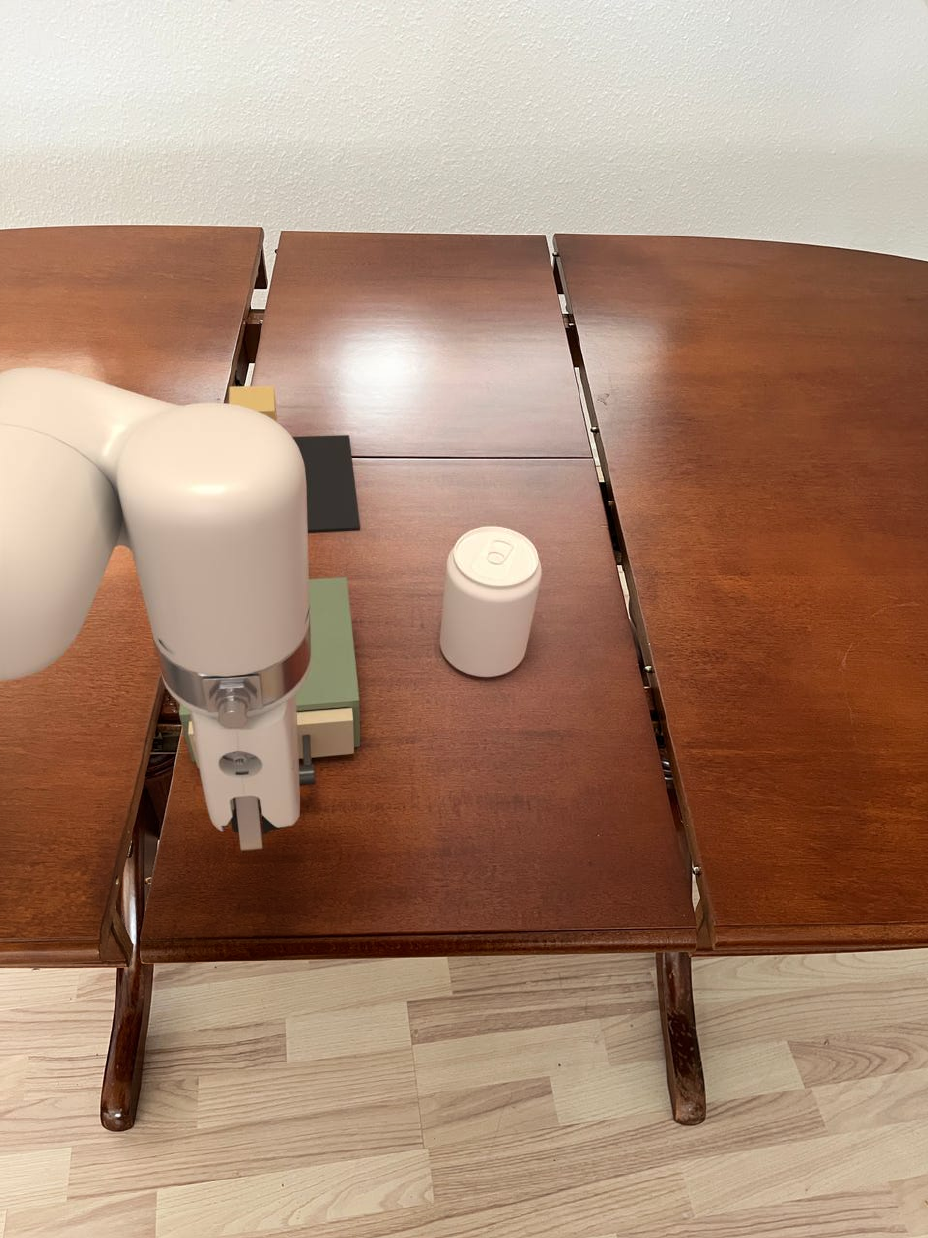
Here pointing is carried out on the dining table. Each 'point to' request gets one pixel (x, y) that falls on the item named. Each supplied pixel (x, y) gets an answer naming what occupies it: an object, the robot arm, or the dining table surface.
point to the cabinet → (323, 656)
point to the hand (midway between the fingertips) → (258, 820)
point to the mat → (329, 483)
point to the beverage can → (489, 601)
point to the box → (255, 399)
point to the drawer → (316, 737)
